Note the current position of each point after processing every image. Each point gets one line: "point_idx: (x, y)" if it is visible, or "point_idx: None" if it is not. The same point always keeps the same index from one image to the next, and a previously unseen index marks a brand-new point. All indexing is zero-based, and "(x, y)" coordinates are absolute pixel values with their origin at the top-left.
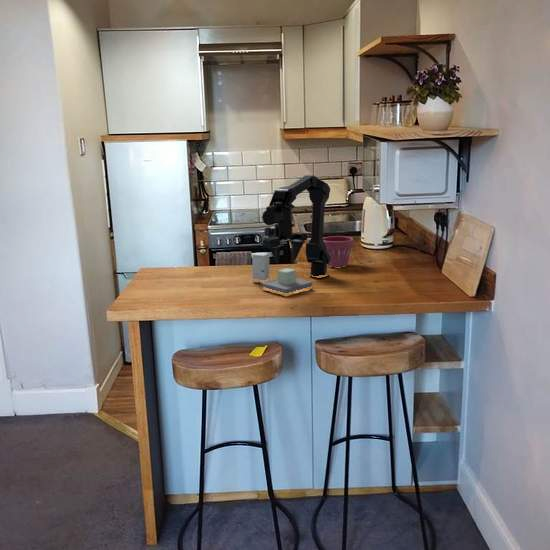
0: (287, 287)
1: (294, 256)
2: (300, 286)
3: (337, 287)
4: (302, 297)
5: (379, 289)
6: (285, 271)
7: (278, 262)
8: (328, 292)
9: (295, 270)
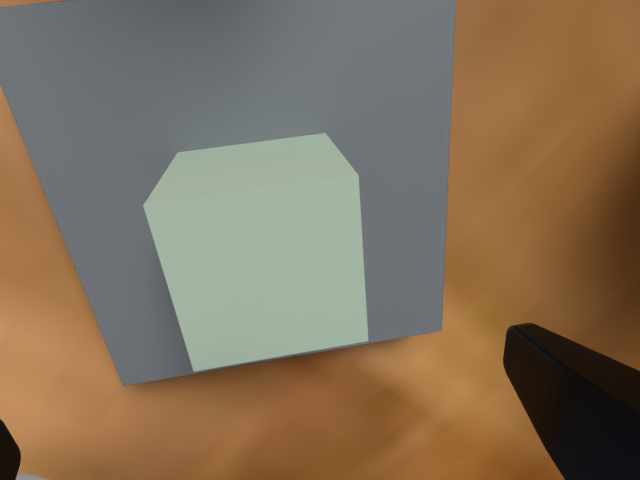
0: (168, 348)
1: (537, 393)
2: None
3: None
4: (238, 399)
5: None
6: (214, 325)
7: (11, 477)
8: (434, 398)
9: (361, 339)
